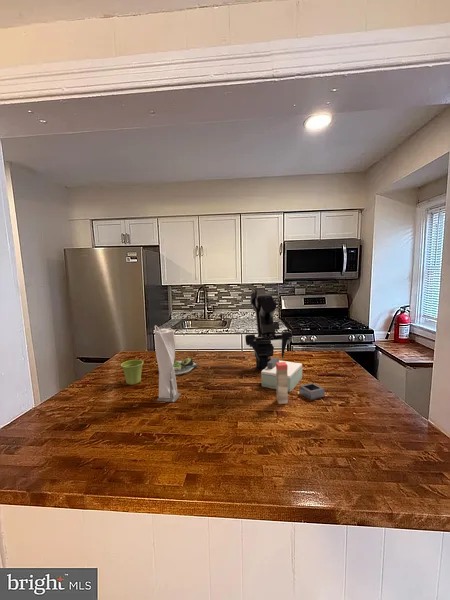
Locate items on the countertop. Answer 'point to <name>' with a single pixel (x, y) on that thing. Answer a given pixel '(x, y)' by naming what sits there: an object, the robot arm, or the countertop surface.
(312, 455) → the countertop surface
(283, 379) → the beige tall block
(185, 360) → the salad plate
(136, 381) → the plant pot
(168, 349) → the skyscraper
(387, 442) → the countertop surface
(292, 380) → the toolbox
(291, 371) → the toolbox lid
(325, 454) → the countertop surface
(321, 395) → the key socket
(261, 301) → the robot arm
